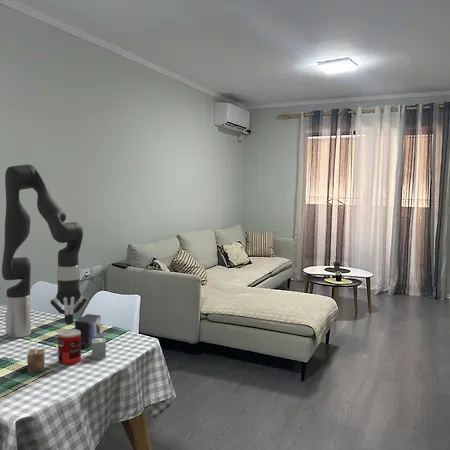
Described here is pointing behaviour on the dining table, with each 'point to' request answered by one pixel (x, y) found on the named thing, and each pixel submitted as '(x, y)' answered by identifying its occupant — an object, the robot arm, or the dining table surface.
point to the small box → (88, 328)
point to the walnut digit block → (36, 360)
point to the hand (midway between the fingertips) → (69, 324)
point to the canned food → (69, 346)
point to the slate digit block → (99, 348)
